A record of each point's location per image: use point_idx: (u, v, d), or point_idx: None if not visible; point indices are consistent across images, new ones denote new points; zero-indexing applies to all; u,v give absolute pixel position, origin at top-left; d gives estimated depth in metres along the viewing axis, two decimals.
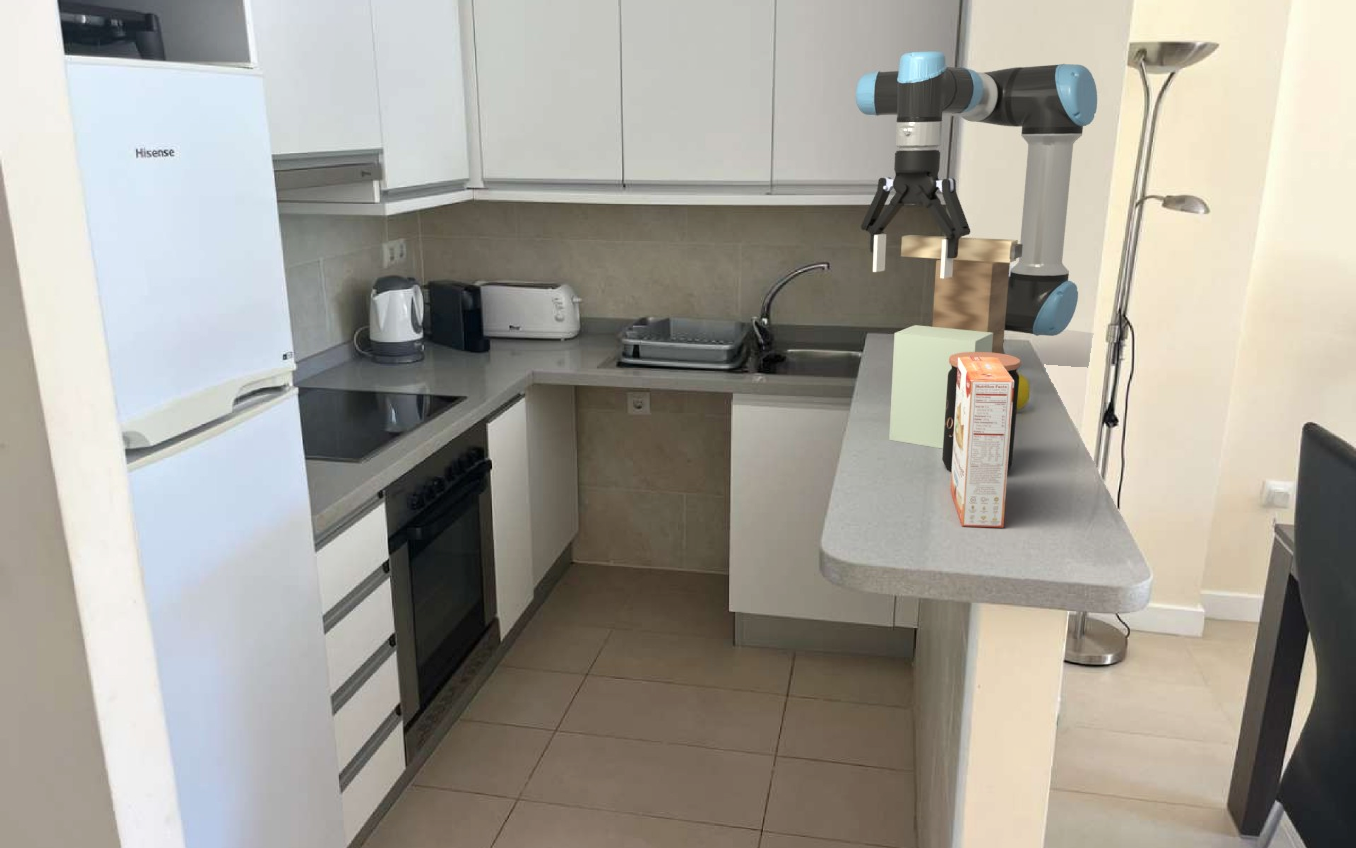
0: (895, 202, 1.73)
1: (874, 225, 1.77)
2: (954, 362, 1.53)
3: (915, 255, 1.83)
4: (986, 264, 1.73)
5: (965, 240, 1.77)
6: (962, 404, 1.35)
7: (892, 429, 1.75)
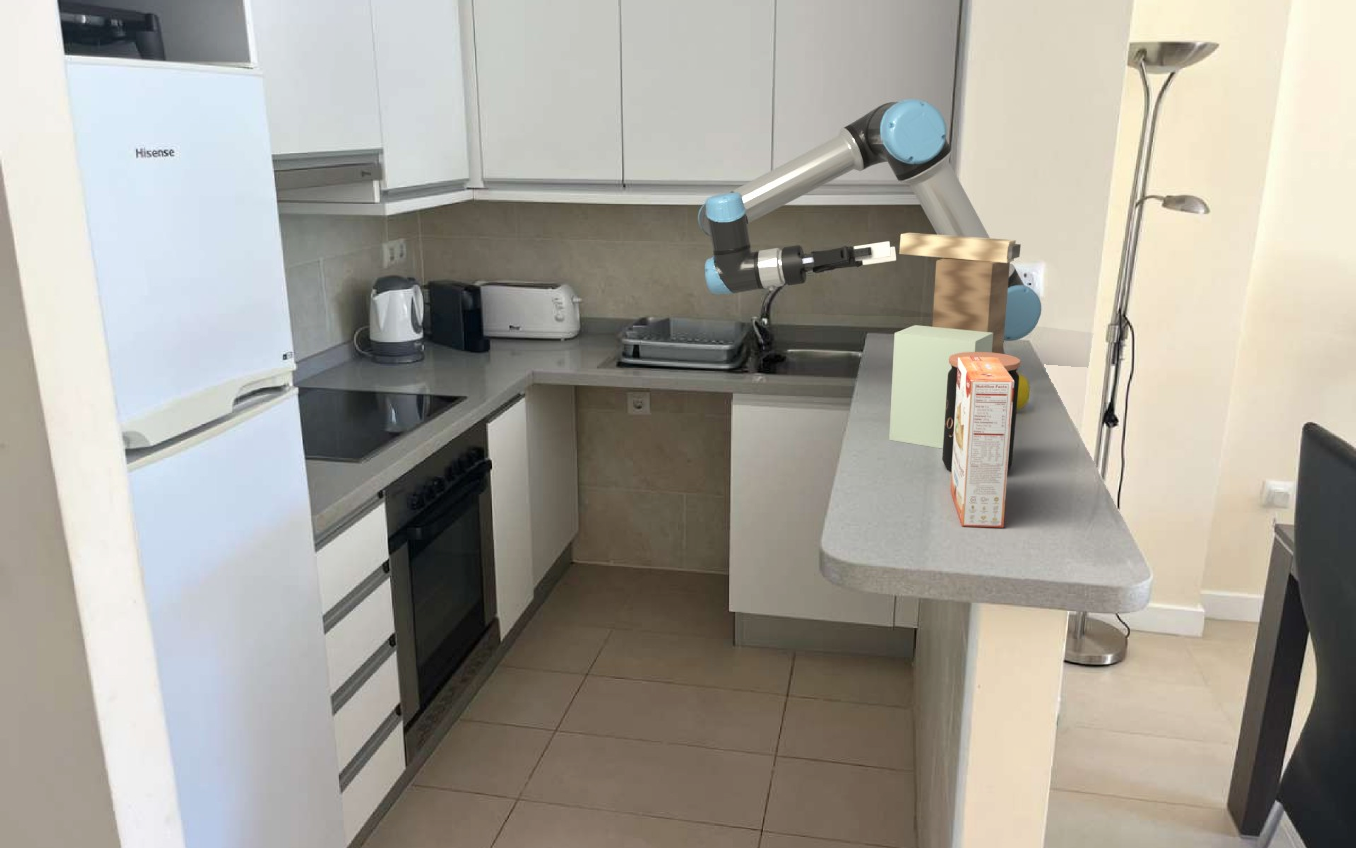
0: (831, 269, 1.97)
1: (855, 265, 2.00)
2: (954, 362, 1.53)
3: (913, 253, 1.83)
4: (986, 264, 1.73)
5: (963, 239, 1.77)
6: (962, 404, 1.36)
7: (892, 429, 1.75)
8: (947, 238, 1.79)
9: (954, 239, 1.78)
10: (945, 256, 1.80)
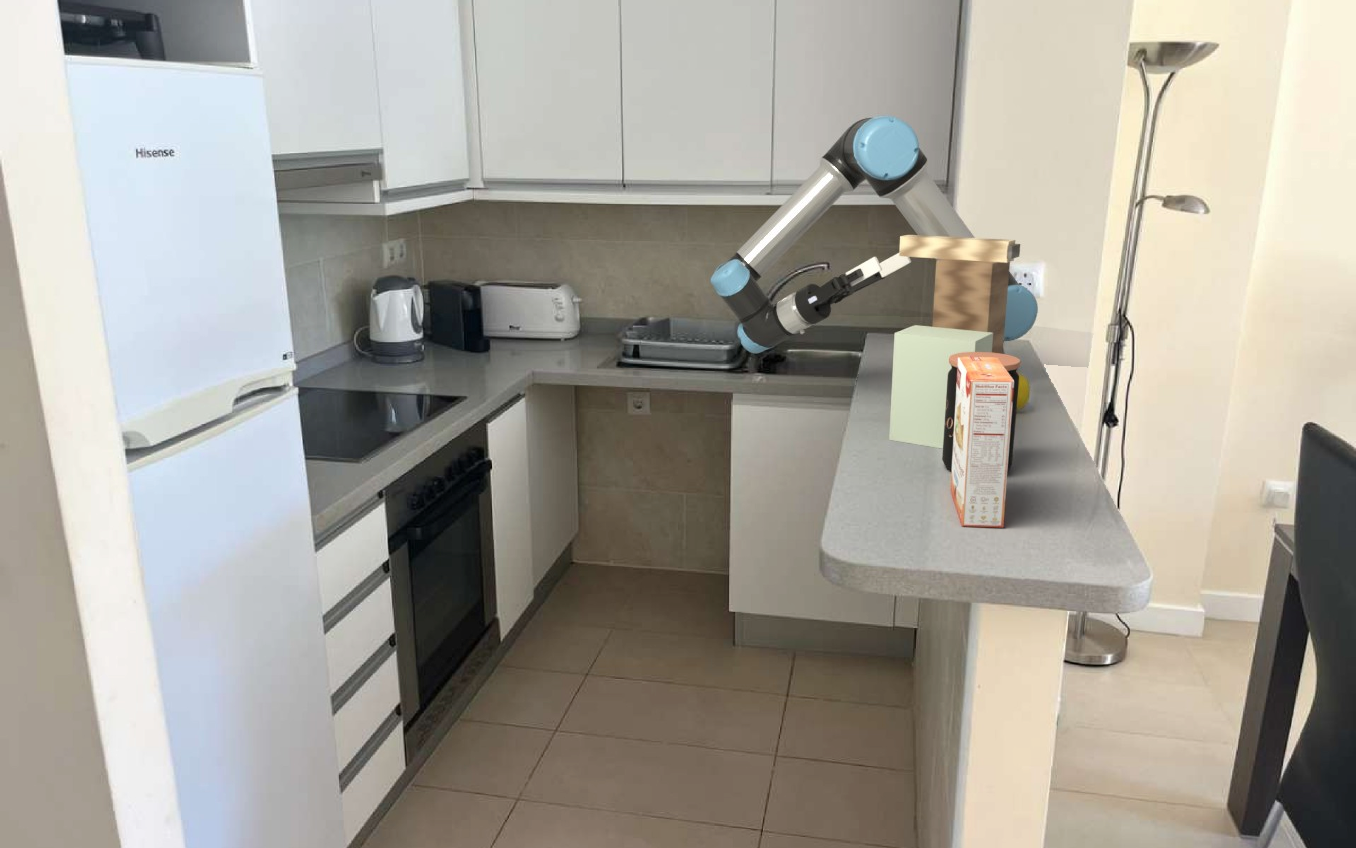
0: (851, 294, 1.96)
1: (876, 280, 1.97)
2: (954, 362, 1.53)
3: (913, 255, 1.83)
4: (986, 264, 1.73)
5: (963, 240, 1.77)
6: (962, 404, 1.36)
7: (892, 429, 1.75)
8: (947, 239, 1.79)
9: (954, 240, 1.78)
10: (945, 257, 1.80)
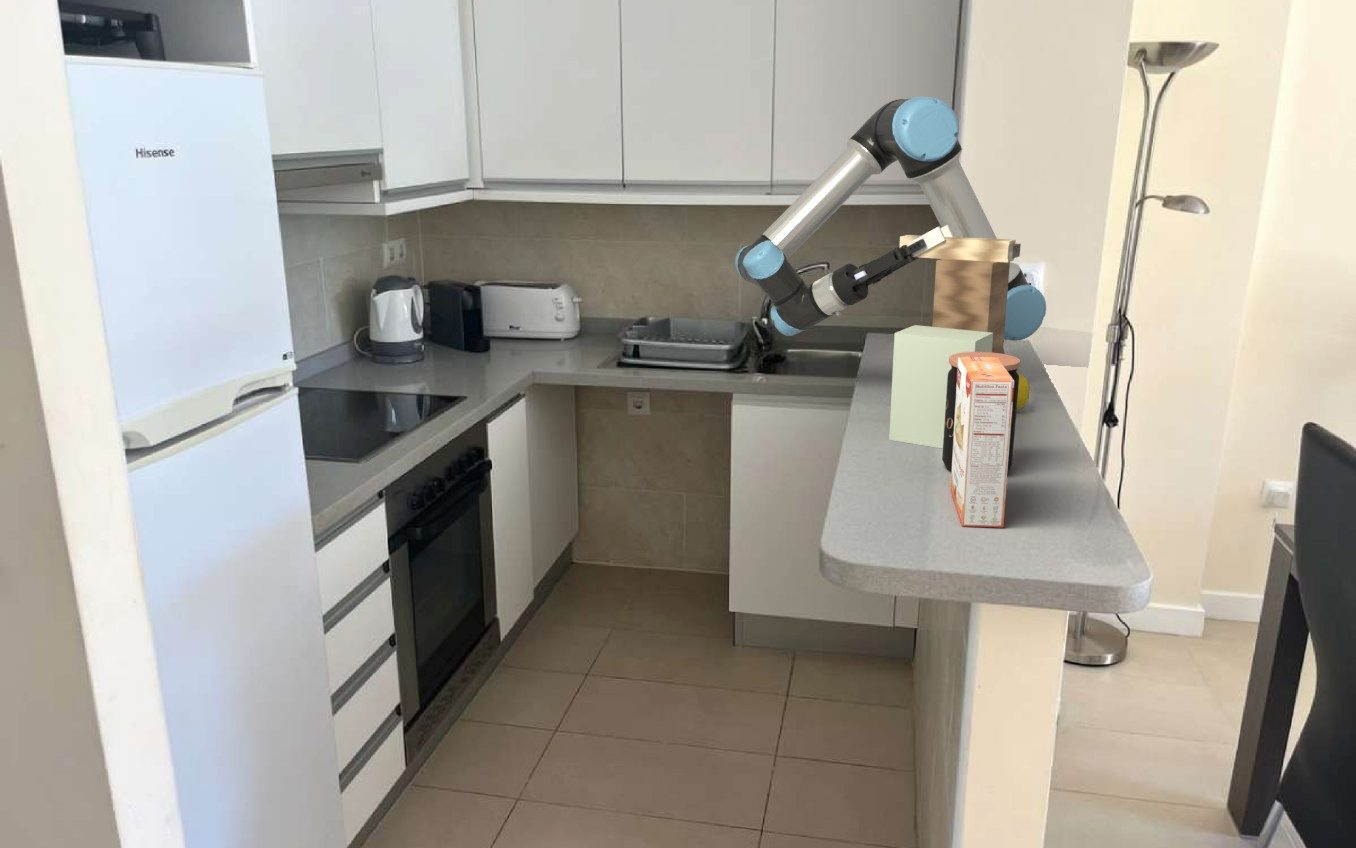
0: (888, 274, 1.90)
1: (917, 257, 1.88)
2: (954, 362, 1.53)
3: None
4: (986, 264, 1.73)
5: (963, 240, 1.77)
6: (962, 404, 1.35)
7: (892, 429, 1.75)
8: (947, 239, 1.79)
9: (954, 240, 1.78)
10: (945, 257, 1.80)
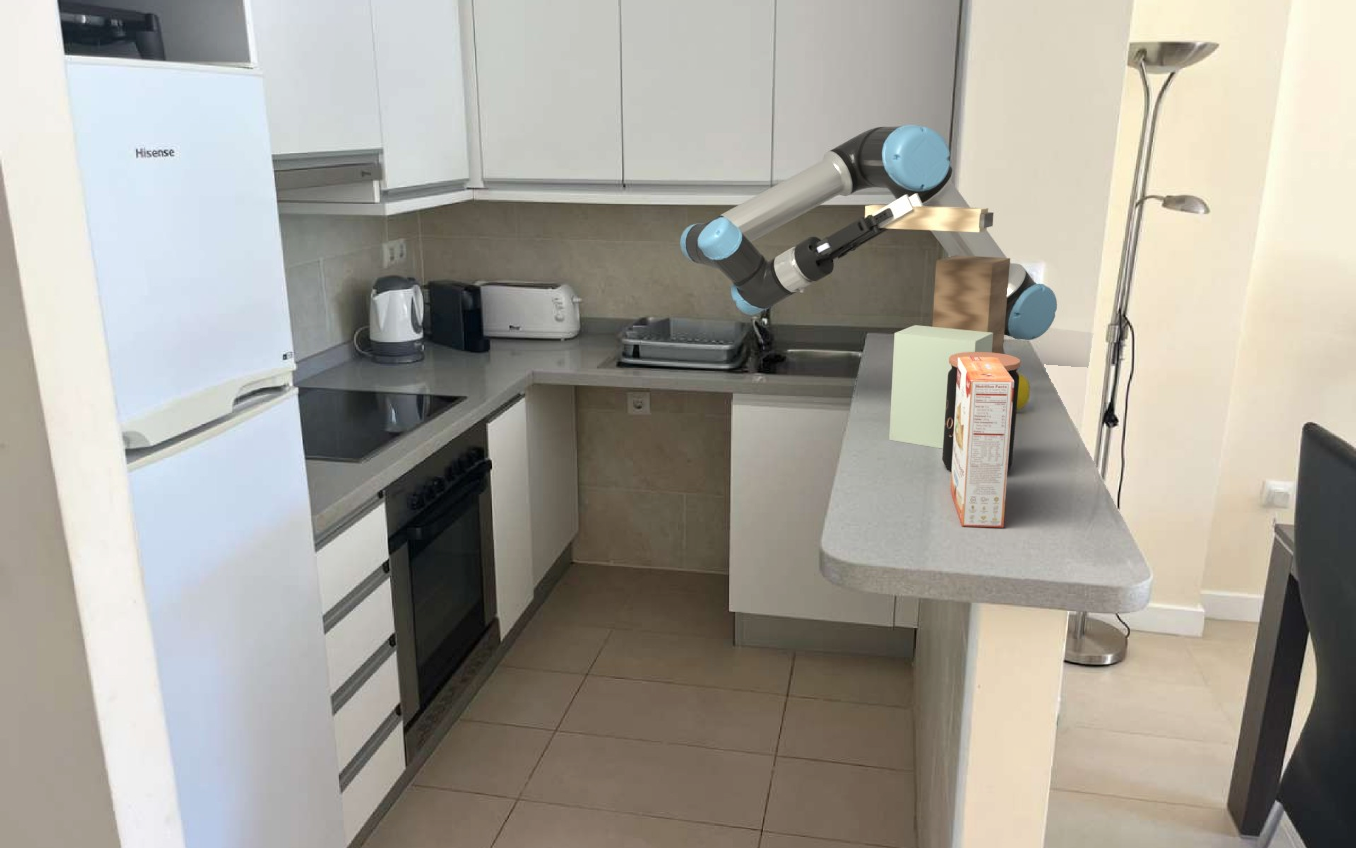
0: (854, 248, 1.77)
1: (884, 229, 1.75)
2: (954, 362, 1.53)
3: None
4: (986, 264, 1.73)
5: (932, 209, 1.64)
6: (962, 404, 1.36)
7: (892, 429, 1.75)
8: (915, 208, 1.66)
9: (922, 209, 1.65)
10: (913, 228, 1.67)
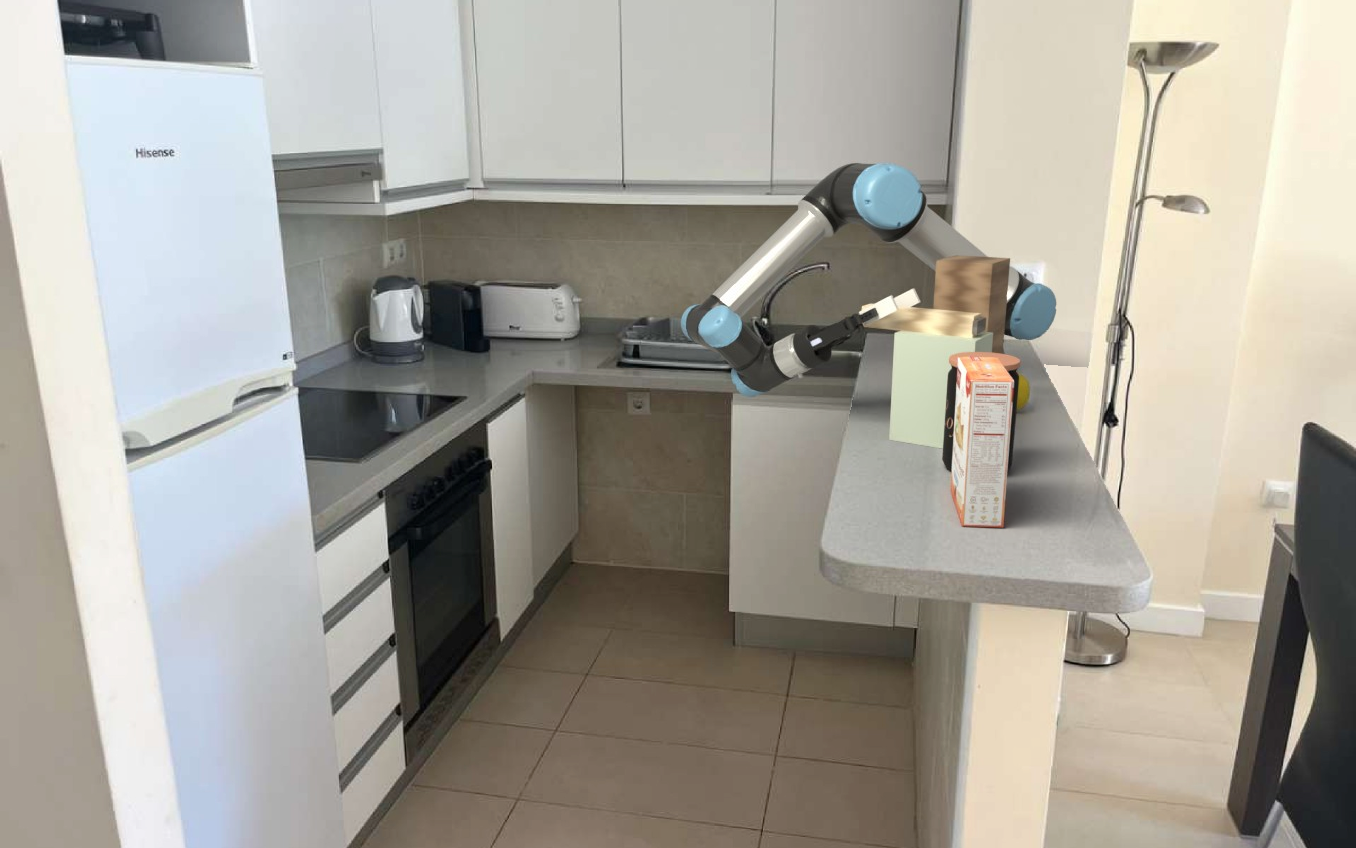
0: (853, 336, 1.82)
1: None
2: (954, 362, 1.53)
3: (875, 326, 1.75)
4: (986, 264, 1.73)
5: (926, 313, 1.69)
6: (962, 404, 1.36)
7: (892, 429, 1.75)
8: (910, 311, 1.71)
9: (917, 312, 1.70)
10: (908, 330, 1.72)
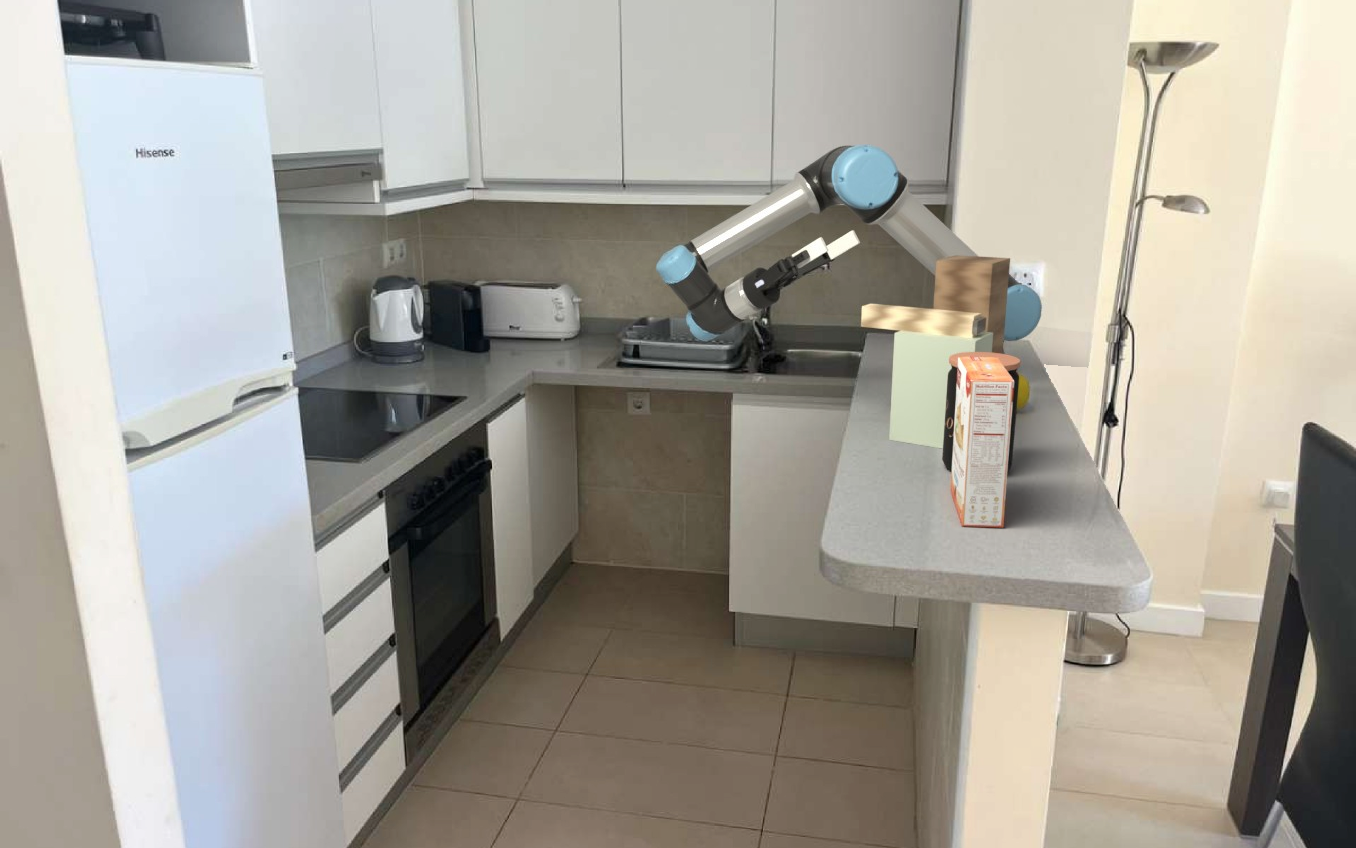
0: (799, 277, 1.92)
1: (825, 262, 1.93)
2: (954, 362, 1.53)
3: (875, 326, 1.75)
4: (986, 264, 1.73)
5: (926, 313, 1.69)
6: (962, 404, 1.36)
7: (892, 429, 1.75)
8: (910, 311, 1.71)
9: (917, 312, 1.70)
10: (908, 330, 1.72)
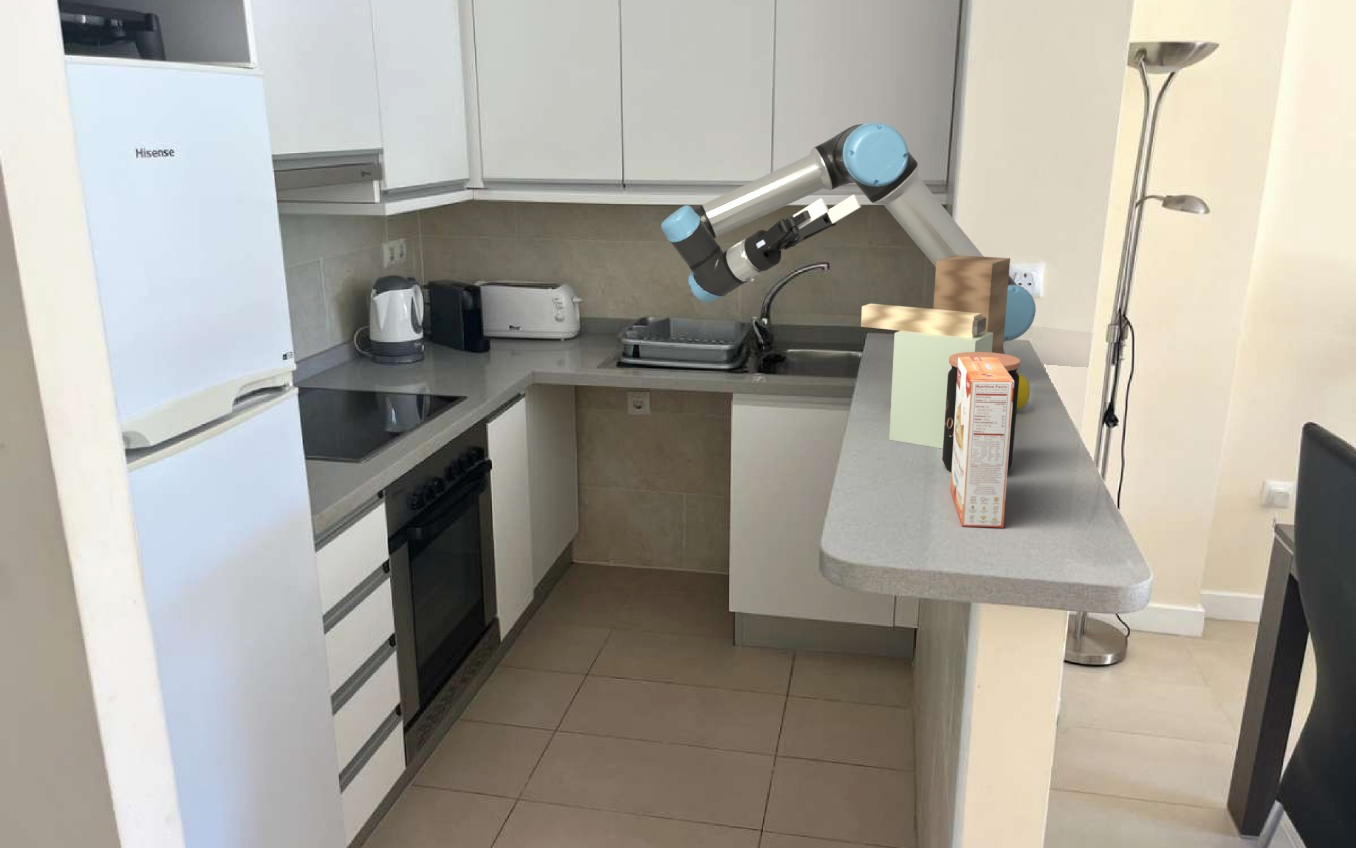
0: (800, 240, 1.94)
1: (827, 226, 1.95)
2: (954, 362, 1.53)
3: (875, 326, 1.75)
4: (986, 264, 1.73)
5: (926, 313, 1.69)
6: (962, 404, 1.35)
7: (892, 429, 1.75)
8: (910, 311, 1.71)
9: (917, 312, 1.70)
10: (908, 330, 1.72)
